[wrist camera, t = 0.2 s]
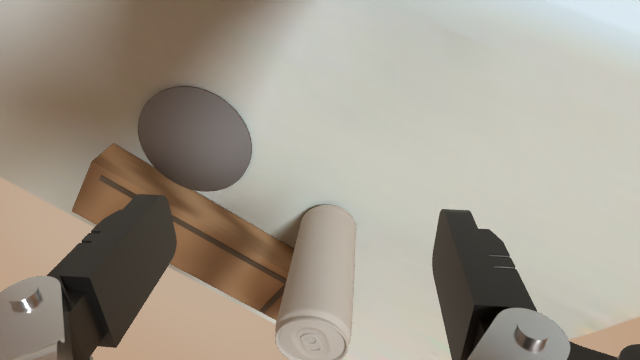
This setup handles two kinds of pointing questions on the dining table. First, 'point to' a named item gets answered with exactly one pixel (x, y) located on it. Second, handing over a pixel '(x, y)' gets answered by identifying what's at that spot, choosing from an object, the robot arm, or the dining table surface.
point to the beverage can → (319, 288)
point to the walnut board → (193, 230)
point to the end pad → (195, 138)
